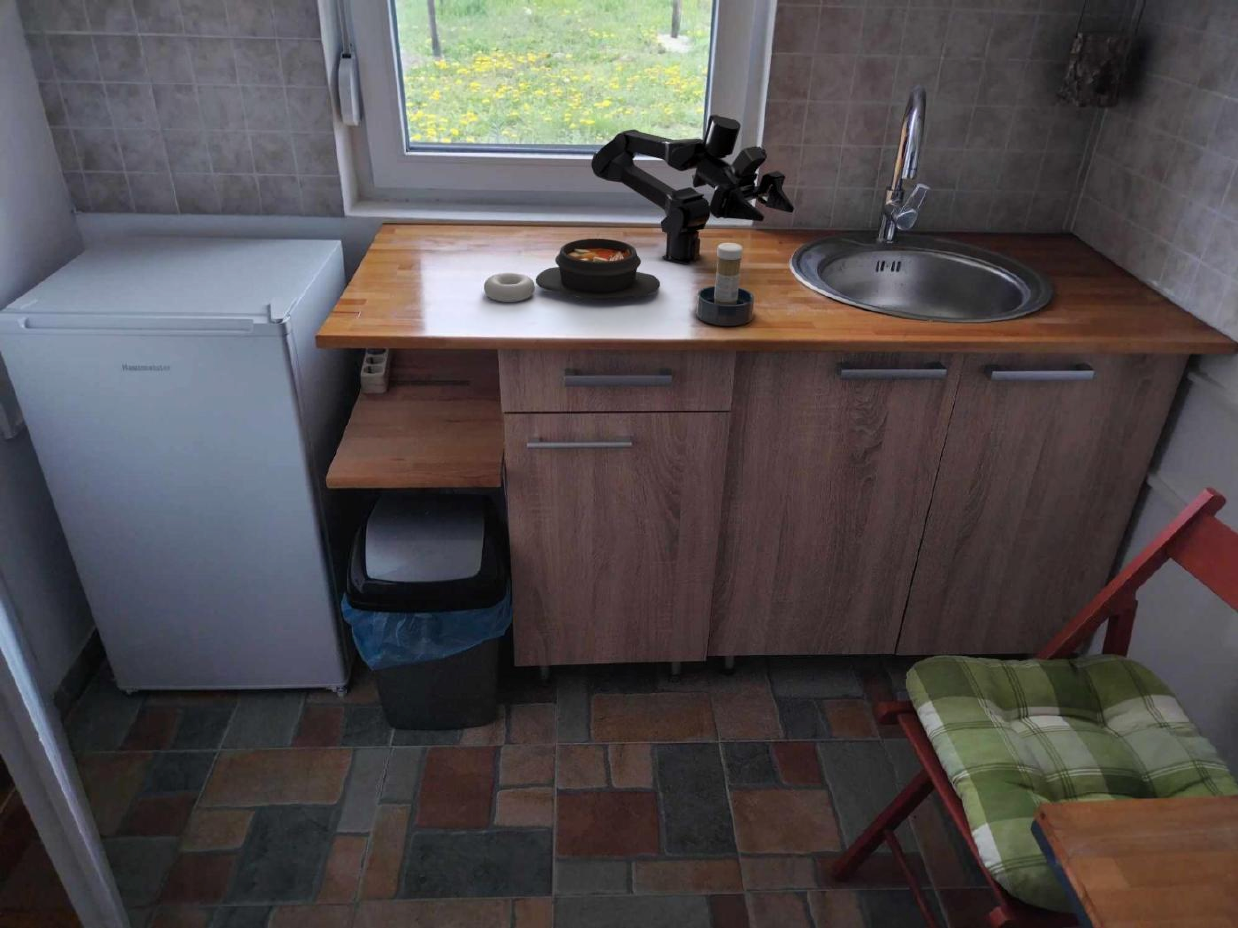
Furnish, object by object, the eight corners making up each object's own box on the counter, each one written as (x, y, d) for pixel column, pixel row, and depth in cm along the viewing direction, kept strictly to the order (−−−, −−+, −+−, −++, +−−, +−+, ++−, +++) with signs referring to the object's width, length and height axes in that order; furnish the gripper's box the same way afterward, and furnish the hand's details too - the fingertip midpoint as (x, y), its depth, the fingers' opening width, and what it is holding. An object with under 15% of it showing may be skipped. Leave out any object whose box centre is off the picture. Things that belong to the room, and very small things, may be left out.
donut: (522, 308, 176) (543, 290, 184) (521, 291, 174) (542, 273, 182) (475, 301, 178) (497, 283, 186) (474, 284, 177) (496, 266, 185)
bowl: (686, 319, 173) (688, 298, 171) (710, 302, 181) (712, 281, 178) (738, 331, 168) (740, 310, 166) (760, 313, 176) (763, 292, 174)
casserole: (664, 279, 191) (666, 239, 187) (654, 312, 175) (656, 270, 171) (546, 270, 194) (545, 231, 189) (526, 302, 178) (525, 260, 174)
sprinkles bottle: (726, 308, 177) (732, 240, 170) (741, 316, 174) (748, 247, 167) (707, 313, 175) (712, 244, 168) (722, 321, 172) (728, 251, 165)
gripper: (701, 145, 175) (760, 184, 168) (764, 133, 186) (821, 169, 179) (686, 198, 183) (742, 238, 175) (748, 183, 193) (802, 219, 186)
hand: (778, 214), depth 179 cm, fingers open, 9 cm apart
